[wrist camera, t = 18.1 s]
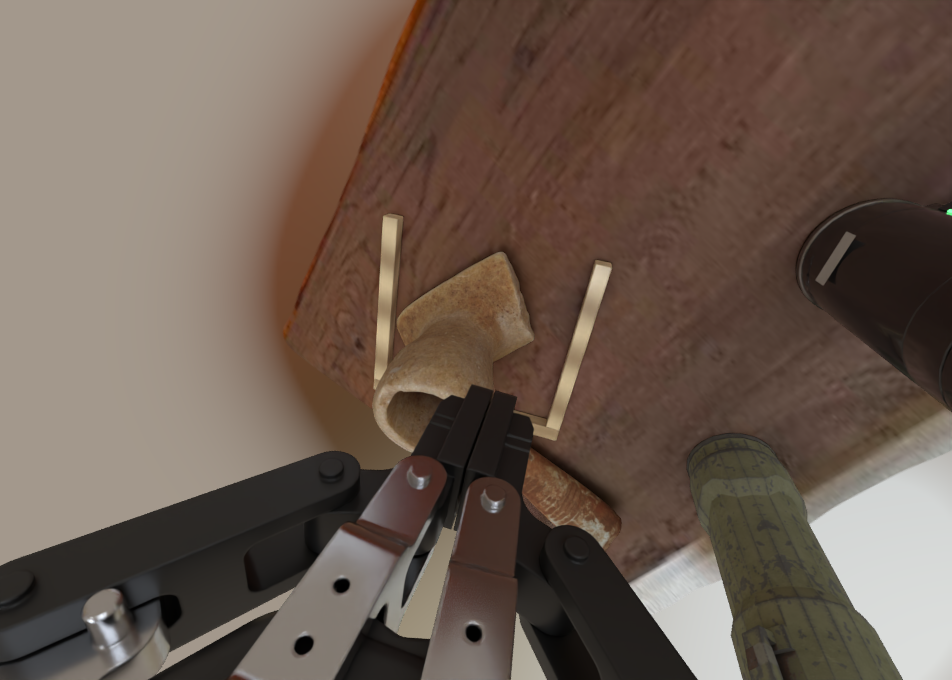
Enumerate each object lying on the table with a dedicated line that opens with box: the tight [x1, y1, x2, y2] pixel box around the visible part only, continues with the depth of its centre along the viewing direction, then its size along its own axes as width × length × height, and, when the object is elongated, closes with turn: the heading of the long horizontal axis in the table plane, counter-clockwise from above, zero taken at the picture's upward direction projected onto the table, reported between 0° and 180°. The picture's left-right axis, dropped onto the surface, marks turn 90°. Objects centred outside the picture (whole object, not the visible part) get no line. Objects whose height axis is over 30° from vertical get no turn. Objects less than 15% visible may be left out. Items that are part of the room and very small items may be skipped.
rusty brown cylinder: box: [522, 448, 622, 552], centre depth 50 cm, size 6×19×6 cm, turn 50°
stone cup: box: [372, 252, 534, 453], centre depth 39 cm, size 15×12×15 cm
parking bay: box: [374, 213, 612, 441], centre depth 45 cm, size 20×22×2 cm
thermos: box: [687, 433, 903, 680], centre depth 31 cm, size 9×12×35 cm
